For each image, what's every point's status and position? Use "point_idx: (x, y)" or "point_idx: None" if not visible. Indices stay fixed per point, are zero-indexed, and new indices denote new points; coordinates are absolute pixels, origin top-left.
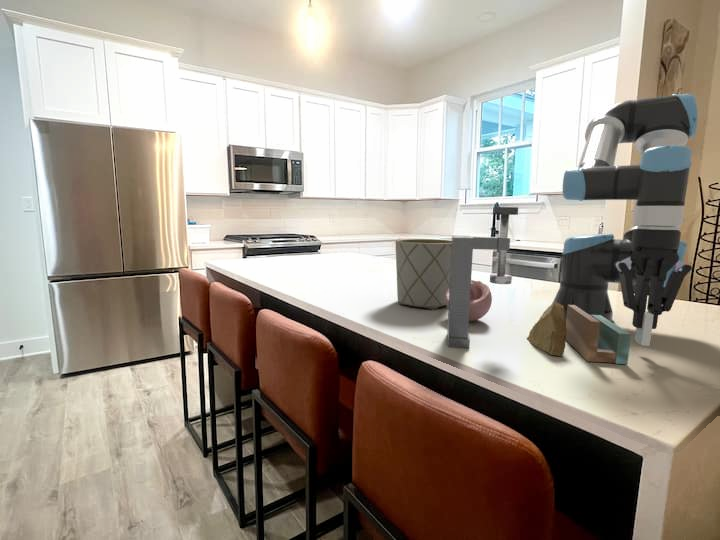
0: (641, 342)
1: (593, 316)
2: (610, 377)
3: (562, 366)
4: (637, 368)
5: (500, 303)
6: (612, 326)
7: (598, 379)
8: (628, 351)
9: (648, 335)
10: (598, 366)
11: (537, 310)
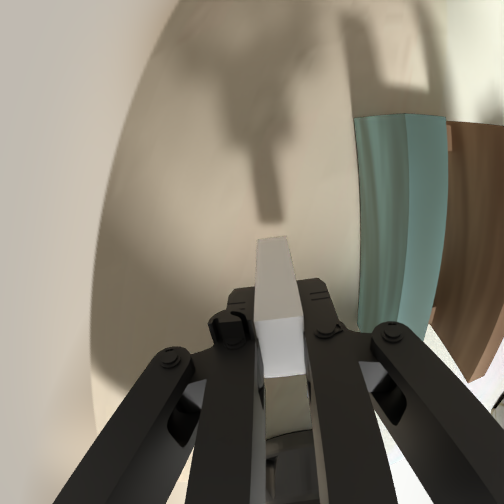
0: (287, 242)
1: None
2: (412, 25)
3: (490, 87)
4: (328, 100)
5: None
6: (431, 234)
7: (435, 15)
8: (372, 116)
9: (266, 256)
10: (428, 94)
11: None
